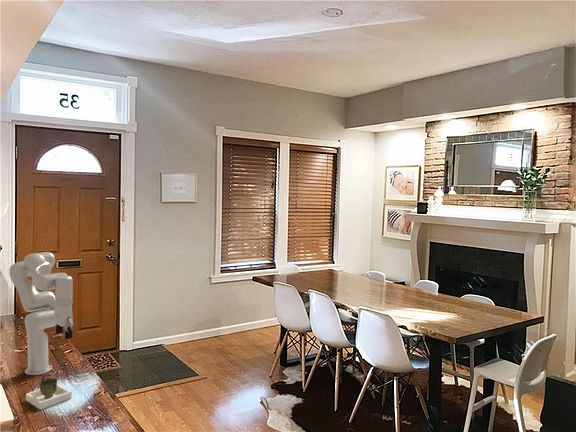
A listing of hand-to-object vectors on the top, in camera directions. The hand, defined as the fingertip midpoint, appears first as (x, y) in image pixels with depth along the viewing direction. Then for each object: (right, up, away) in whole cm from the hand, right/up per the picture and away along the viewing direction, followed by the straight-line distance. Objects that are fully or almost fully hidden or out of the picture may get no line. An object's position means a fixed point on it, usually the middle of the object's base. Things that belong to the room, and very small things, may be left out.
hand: (64, 335), depth 225 cm
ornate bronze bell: (-1, -25, -12) cm, 28 cm away
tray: (-1, -26, -13) cm, 29 cm away
